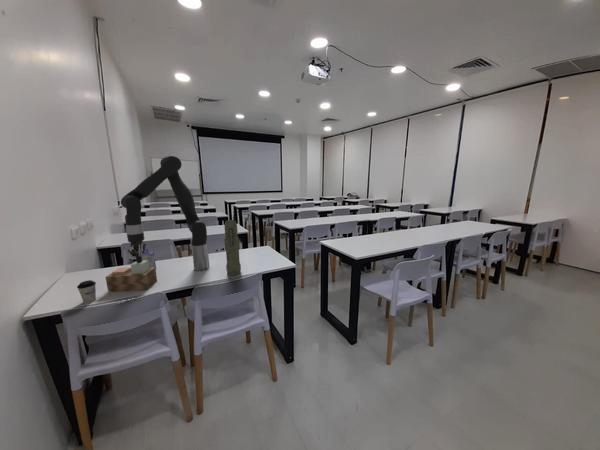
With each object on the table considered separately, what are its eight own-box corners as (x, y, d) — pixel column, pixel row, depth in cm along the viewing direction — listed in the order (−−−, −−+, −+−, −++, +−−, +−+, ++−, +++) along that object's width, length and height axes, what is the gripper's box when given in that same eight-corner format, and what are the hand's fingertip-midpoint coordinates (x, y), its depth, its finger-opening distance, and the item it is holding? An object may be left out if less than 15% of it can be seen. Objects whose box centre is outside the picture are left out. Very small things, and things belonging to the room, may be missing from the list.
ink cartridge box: (156, 268, 157) (153, 248, 154) (155, 270, 152) (152, 250, 150) (139, 270, 153) (136, 250, 150) (137, 273, 148) (134, 252, 145)
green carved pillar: (239, 269, 154) (236, 218, 148) (242, 275, 144) (238, 221, 137) (226, 271, 151) (222, 219, 144) (227, 278, 140) (223, 222, 134)
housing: (157, 281, 136) (155, 267, 135) (147, 290, 126) (145, 274, 124) (121, 283, 134) (119, 268, 132) (108, 292, 123) (105, 276, 122)
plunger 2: (150, 276, 133) (148, 260, 131) (144, 280, 127) (142, 264, 125) (139, 277, 132) (137, 260, 130) (133, 281, 126) (130, 264, 124)
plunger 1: (133, 283, 133) (130, 267, 131) (126, 288, 127) (123, 271, 125) (122, 284, 132) (119, 267, 130) (115, 288, 126) (112, 272, 124)
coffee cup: (77, 302, 113) (73, 284, 111) (93, 296, 119) (90, 278, 117) (85, 305, 110) (81, 286, 108) (102, 298, 117) (98, 280, 115)
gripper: (135, 235, 118) (139, 266, 122) (149, 229, 131) (152, 258, 134) (119, 235, 117) (124, 267, 121) (135, 230, 130) (139, 258, 134)
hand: (139, 262), depth 128 cm, fingers closed
